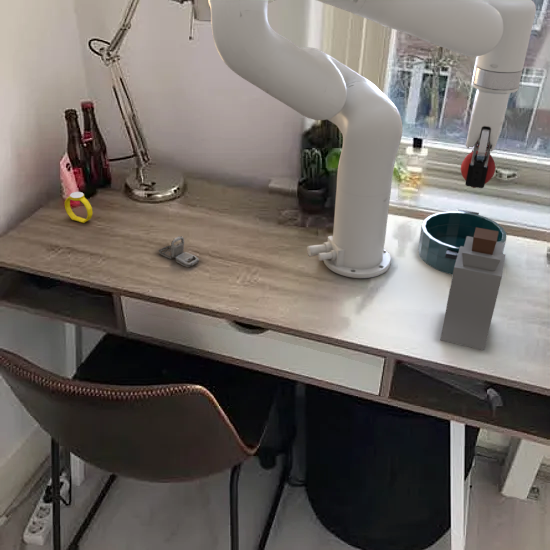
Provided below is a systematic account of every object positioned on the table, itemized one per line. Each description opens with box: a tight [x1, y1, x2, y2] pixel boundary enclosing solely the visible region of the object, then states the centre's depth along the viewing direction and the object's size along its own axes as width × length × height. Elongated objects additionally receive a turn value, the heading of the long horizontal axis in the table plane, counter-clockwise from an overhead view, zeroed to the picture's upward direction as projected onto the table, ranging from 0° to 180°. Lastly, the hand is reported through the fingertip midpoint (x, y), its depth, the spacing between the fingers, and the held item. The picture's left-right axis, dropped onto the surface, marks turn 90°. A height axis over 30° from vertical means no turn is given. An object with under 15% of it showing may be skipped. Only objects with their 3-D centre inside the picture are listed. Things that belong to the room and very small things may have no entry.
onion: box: [460, 145, 496, 189], centre depth 115 cm, size 6×6×8 cm
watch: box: [64, 191, 94, 224], centre depth 132 cm, size 6×3×6 cm, turn 66°
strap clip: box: [158, 235, 200, 268], centre depth 121 cm, size 8×3×4 cm, turn 50°
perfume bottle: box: [439, 227, 506, 351], centre depth 99 cm, size 7×7×18 cm
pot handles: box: [445, 209, 480, 260], centre depth 122 cm, size 19×4×1 cm, turn 160°
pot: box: [417, 210, 508, 276], centre depth 123 cm, size 15×15×6 cm
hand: (475, 178), depth 116 cm, fingers closed on onion, 5 cm apart
